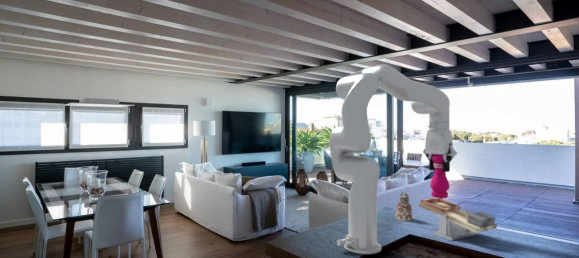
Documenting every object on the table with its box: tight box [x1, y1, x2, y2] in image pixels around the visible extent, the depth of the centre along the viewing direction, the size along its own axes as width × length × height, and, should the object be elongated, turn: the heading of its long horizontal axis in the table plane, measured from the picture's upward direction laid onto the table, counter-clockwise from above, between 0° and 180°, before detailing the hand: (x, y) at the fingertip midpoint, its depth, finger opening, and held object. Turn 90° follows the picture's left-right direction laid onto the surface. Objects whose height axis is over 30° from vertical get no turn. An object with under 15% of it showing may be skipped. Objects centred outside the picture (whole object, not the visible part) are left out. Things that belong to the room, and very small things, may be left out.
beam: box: [418, 197, 498, 234], centre depth 129 cm, size 12×25×4 cm, turn 28°
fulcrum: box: [433, 209, 478, 241], centre depth 129 cm, size 15×8×8 cm, turn 118°
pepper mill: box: [429, 154, 450, 199], centre depth 136 cm, size 7×7×20 cm
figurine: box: [395, 191, 413, 222], centre depth 152 cm, size 7×7×12 cm
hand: (439, 170), depth 135 cm, fingers closed on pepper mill, 5 cm apart
